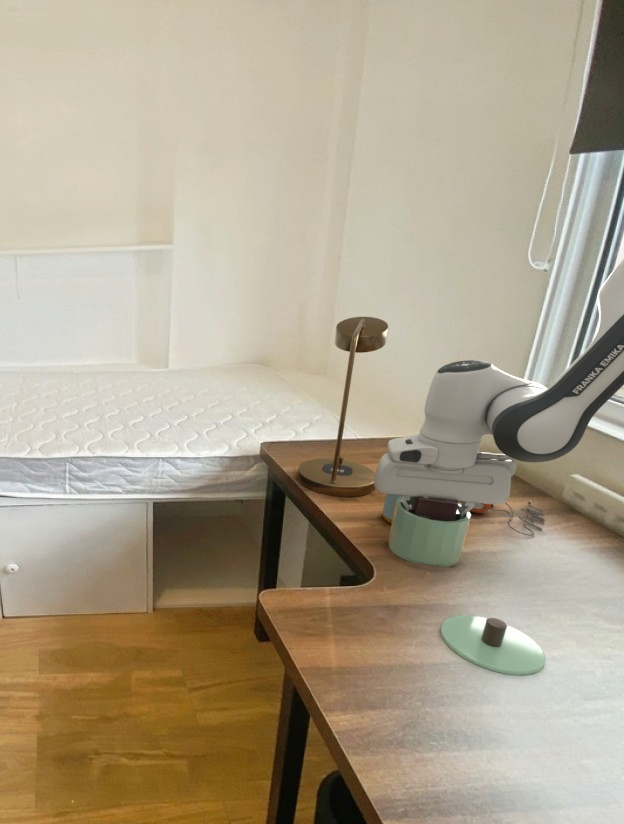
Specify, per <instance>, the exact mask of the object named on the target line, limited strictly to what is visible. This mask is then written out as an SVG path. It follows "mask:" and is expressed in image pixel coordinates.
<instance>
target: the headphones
mask: <svg viewBox="0 0 624 824" xmlns="http://www.w3.org/2000/svg"><path fill="white" fill-rule="evenodd" d="M458 503H462V504H463V502H462V501H458ZM504 504H505V505H506V506H508V508H509V509H510V511H511V513H510V512H509V511H508V510H506V509H494V508H492V507H493V506H494V504H485V503H475V505H474V508H472V509H471V510H470V511H469V512H472V513H474V514H475V513H476V514H482V513H485V512H487V511H496V512H499V511H500V512H505V513H507V514H508V515H509V518H508V520H507V526H508V527H509V528H510V529H512V530H513V531H515V532H517V533H519V534H521V535H524V536H527V537H533V536H535V533H534V531H532V529H530V528H529V527H531V528H534V529H536V530H539V531H543V528H542V527H540V526H538V525H535V524H534V523H536V522H538V523H540V524H545V521H546V519H544V518H543V517H541V516H540V515H545V511H543V510H541V509H540V508H538V507H535V506H533V505H531V504H532V499H530V500H529V501H528V502H527V505H528V506H529V507H530V508H528V507H526V508H522V507H521V508H520V511H522V512H523V513H525V514H528V515H524V516H521V515H520V516H518V519H519V520H521V521H522V522H524V523H522V526H523V527H524V528H525V529H526V530H528V531H529V532H530V533H531V534H528V533H524V532H520V531H519V530H517V529H515V528H514V527H512V526H511V524H510V522H511V521H512V520H513V518H514V515H515V513H514V510H513V508H512V507H511V505H510V504H508V502H505V503H504ZM531 508H532V509H531ZM533 509H535V510H533ZM536 510H537V511H536ZM538 511H539V512H538ZM529 515H530V516H529ZM527 526H529V527H527Z"/></svg>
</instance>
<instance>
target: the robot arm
mask: <svg viewBox="0 0 624 824" xmlns="http://www.w3.org/2000/svg"><path fill="white" fill-rule="evenodd" d="M597 307H598V314H599V316H598V326H597V330H596V333H595V336H594V337H593V339H592V340H591V342H590V344H589V345H588V346H587V347H586V348H585V350H584V351H582V352H581V354H580V355H579V356H578V357H577V358H576V359H575V360H574V361H573V362H572V363H571V364H570V365H569V366H568V367H567V368H566V369H565V370H564V371H563V372H562V373H561V374H560V375H559V376H558V377H557V378H556V380H555V381H554V382H553V383H552V384H551V385H549V386H548V387H546V386H545V385H543V384H540V383H538V382H535V381H532V380H527V379H524V378H520V377H517V376H514V375H512V374H510V373H507V372H505V371H503V370H501V369H499V368H498V367H496V366H495V365H493V363H491V362H489V361H486V360H475V359H466V360H459V361H453V362H450V363H448V364H444V365H443V366H441V367H440V368H438V369H437V371H436V372H435V373H434V375H433V377H432V379H431V381H430V385H429V389H428V391H427V395H426V400H425V404H424V409H423V410H424V422H423V424H422V425H421V427H420V430H419V433H417V434H413V435H408V436H403V437H397V438H392V439H390V440H389V441H388V442H387V452H385V453H384V454H383V455H382V456H381V457H380V460H379V462H378V464H377V467H376V470H375V478H374V486H375V490H376V491H377V492H378V493H379V494H385V495H386V494H394V495H399V496H400V498H401V501H402V503H403V504H404V509H405V510H407V511H408V512H410V513H412V514H414V512H415V508H414V505H409V504H408V502H407V500H408V501H409V500H410V497H411V496H414V497H419V496H422V497H432V498H442V499H451V500H458V502H459V501H462V502H463V503H462V502H461V503H462V504H461V505H462V506H461V507H460V508H459V509H458V510H457V512H456V517H455V521H458V520H461V519H463V517H464V514H466V513H467V512H471V511H470V510H471V509H472V508H474V505H475V503H485V504H493V505H495V506H501V505H503V504H505V502H506V503H508V501H509V499H510V495H511V485H512V479H511V478H513V476H514V475H515V474H516V471H517V467H518V462H517V461H519V462H522V463H544V462H550V461H553V460H557V459H559V458H562V457H563V456H565V455H567V454H569V453H570V452H571V451H573V450H574V449H575V448H576V447H577V446H578V445H579V443H580V441H581V440H582V439H583V436H584V434H585V432H586V430H587V427H588V425H589V424H590V422H591V420H592V419H593V417H594V416H595V415H596V413H597V412H598V411H599V410H600V409H601V408H602V407H603V406H604V404H606V403H607V402H608V401H609V400H610V399H611V398H612V397H613V396H614V395H615V394H616V393H617V392H619V390H620V389H621V388H623V386H624V259H622V260H621V261H620V262H619V263H618V265H617V266H616V267H615V268H614V269H613V270H612V271H611V273H610V274H609V276H607V278H606V280H605V281H604V282H603V284H602V285H601V287H600V288H599V289H598V293H597ZM485 435H491V436H492V437H493V441H494V443H495V446H496V447H497V449H498V450H499V451H500V452H502V453H492V452H482V451H479V449H480V447H481V442H482V437H483V436H485Z"/></svg>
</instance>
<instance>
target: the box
mask: <svg viewBox="0 0 624 824" xmlns="http://www.w3.org/2000/svg"><path fill="white" fill-rule="evenodd" d="M458 504H460V502H459V501H458V500H451V499H442V498H432V497H422V496H419V497H414V502H413V505H414V508H415V512H414V515H416V516H419V517H423V518H426V519H430V520H437V521H455V517H456V512H457V508H458Z"/></svg>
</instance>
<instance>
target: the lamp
mask: <svg viewBox="0 0 624 824" xmlns="http://www.w3.org/2000/svg"><path fill="white" fill-rule="evenodd" d="M388 331H389V324H388V323H387V322H386V321H385V320H383V319H381V318H377V317H373V316H353V317H349V318H346V319H343V320H341V321H339V322H338V323H337V325H336V327H335V336H334V345H335V346H336V348H337V349H339V350H342V351H344V352H348V353H349V355H348V361H347V368H346V369H347V370H346V375H345V383H344V389H343V395H342V403H341V410H340V416H339V424H338V429H337V435H336V444H335V449H334V458H315V459H310V460H306V461H304V462H302V463H300V464H299V465H298V468H297V475H296V478H297V481H298V482H299V483H300V484H301V485H302V486H303V487H305V488H307V489H309V490H311V491H313V492H316V493H318V494H323V495H327V496H331V497H340V498H341V497H343V498H344V497H345V498H355V497H361V496H366V495H370V494H371V493H373V492H374V491H375V490H376V488H375V486H374V478H375V474H376V472H375V471H373V470H372V469H371V468H369V467H367V466H366V465H363V464H360V463H357V462H353V461H350V460H344V456H342V455H341V448H342V443H343V437H344V436H343V435H344V429H345V423H346V416H347V409H348V403H349V396H350V390H351V384H352V382H351V381H352V376H353V371H354V370H353V369H354V364H355V358H356V353H358V354H359V353H360V354H362V353H371V352H374V351H378V350H380V349H382V348H383V347H384V346H385V345H386V343H387V337H388Z"/></svg>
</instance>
